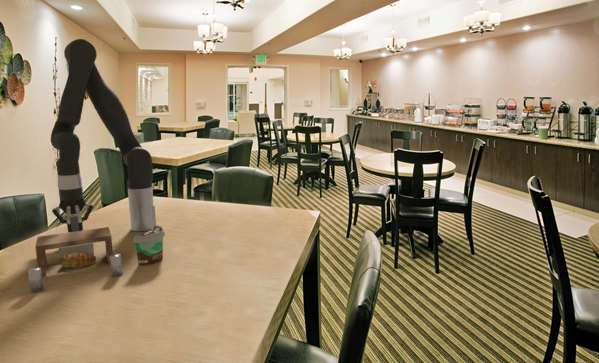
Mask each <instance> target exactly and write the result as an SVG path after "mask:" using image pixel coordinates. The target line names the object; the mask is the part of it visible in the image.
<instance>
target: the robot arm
mask: <svg viewBox="0 0 599 363" xmlns="http://www.w3.org/2000/svg"><path fill="white" fill-rule="evenodd" d="M97 53H98V52H97V48H96V47H95V45H94V44H93V43H92V42H90V41H89V40H87V39H85V38H78V39H74V40H72V41H70V42H69V43H68V44H67V45H66V46H65V48H64V51H63V54H64V59H65V60H66V61H65V62H67V64H68V65H69V66H68V67H69V68H68V75H67V78H66V83H65V86H64V88H63V92H62V94H61V98H60V102H59V106H58V112H57V113H58V114H57V119H56V121H55V122H54V126H53V128H52V130H51V133H50V143H51V145H52V147H53V148H54V149H56V150H58V153H59V157H58V159H56V172H57V188H58V197H59V204H58V206H56V207H53V208H52V210H51V212H52V214H53V215H54V216H55V217H56V219H57V220H58V221H59V222H60V223H61V224H66V226H67V233H69V232H72V229H71V220H70V218H71V216H72V215H77V217H78V223H79V231H83V230H84V227H83V226H84V225H83V222H85V221H87V220H88V219H89V216H90V214H91V212H92V210H93V208H94V205H93V204H92V203H87V202H86V201H85V199H84V192H83V190H84V189H83V182H82V181H83V180H82V177H81V170H80V154H81V141H80V138H79V137H78V136H79V135H77V134H76V133H75V132H74V131H75V129H76V127H77V126H79V124H80V123H81V122H80V121H81V120H82V114H83V107H84V102H85V96H86V94H87V97H88V98H89V100H90V101H91V103H92V105H93V108H94V109H95V111H96V113H97V115H98V116H99V119H100V120H101V122H102V123H103V125H104V126H105V128H106V130H107V131H108V133H109V134H110V135H111V137H112V138H113V140H114V142H115V143H116V145H117V148H118V149H119V152H120V154H121V156H122V158H123V162H124V163H125V165H126V166H127V182H126V183H127V184H126V185H127V197H128V208H129V219H130V229H131V231H132V232H146V231H150V230H152V229H153V228H154V225H156V226H157V218H156V206H155V204H154V195H153V194H154V193H153V192H154V191H153V179H154V174H153V173H154V172H153V157H152V155H151V153H150V152H149V151H148V150H147V149H145V148H143V147H142V145H141V144H140V142H139V141H138V140H137V137H136V136H135V134H134V132H133V130H132V126H131V122H130V120H129V116H128V114H127V112H126V109H125V107H124V106H123V104H122V102H121V100H120V98H119V97H118V95H117V94H116V93H115V91H114V90H113V89H112V88H111V87H110V85H109V84H108V83H107V82H106V81H105V79H104V78H103V76H101V74H100V72H99V70H98V67H97V65H96V63H95V62H96V59H97V56H98V54H97ZM84 208H85V210H86V211H85V213H84V215H83V216H82V215H81V214H82V213H81V212H82V211H83V209H84ZM61 210H62V212H63V213H64V214H65V215H66V218H64V216H63V215H62V214H61Z"/></svg>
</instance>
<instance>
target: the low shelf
mask: <svg viewBox="0 0 599 363" xmlns="http://www.w3.org/2000/svg"><path fill="white" fill-rule="evenodd" d="M110 230H111V229H110V228H109V226H108V227H100V228H98V227H97V228H92V229H85V230H84V229H83V231H76V232H64V233H63V232H62V233H57V234H56V233H53V234H48V235H41V236H37V238H36V243H35V246H34V248H35V254H36V261H37V267H40V268H41V272H42V278H43V277H46V274H47V269H48V261H47V260H48V259H47V253H46V251H47V250H55V249H59V248H62V247H69V246H75V245H82V244H88V243H93V244H94V243H102V242H104V245H105V254H106V259H107V263H108V265H110V255H113V254H114V250H113V241H112V239H113V238H112V234H111V231H110Z"/></svg>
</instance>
